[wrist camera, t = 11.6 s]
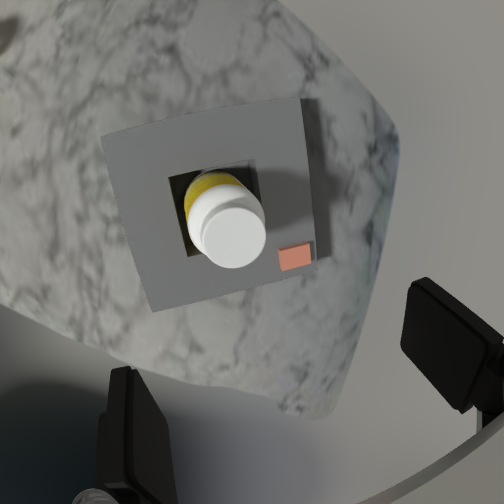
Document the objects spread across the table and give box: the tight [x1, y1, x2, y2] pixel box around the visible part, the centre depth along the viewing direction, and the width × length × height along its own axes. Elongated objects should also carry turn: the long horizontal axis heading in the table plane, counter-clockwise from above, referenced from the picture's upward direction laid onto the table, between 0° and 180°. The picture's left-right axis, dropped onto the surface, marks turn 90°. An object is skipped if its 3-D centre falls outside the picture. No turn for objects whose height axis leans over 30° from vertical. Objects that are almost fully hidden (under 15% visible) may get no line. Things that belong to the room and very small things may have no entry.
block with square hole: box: [100, 97, 318, 312], centre depth 27 cm, size 16×16×3 cm
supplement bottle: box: [184, 170, 266, 268], centre depth 24 cm, size 5×5×10 cm
